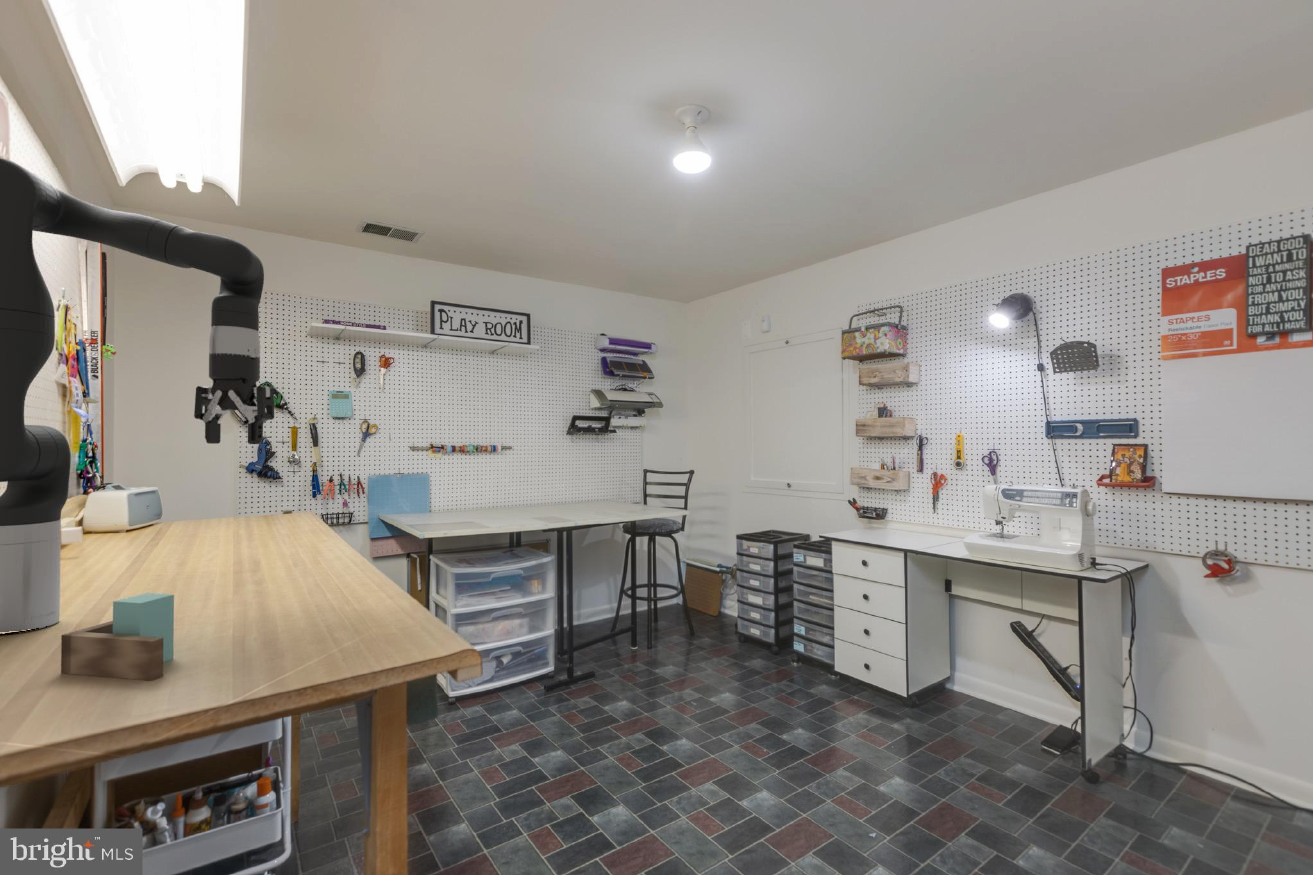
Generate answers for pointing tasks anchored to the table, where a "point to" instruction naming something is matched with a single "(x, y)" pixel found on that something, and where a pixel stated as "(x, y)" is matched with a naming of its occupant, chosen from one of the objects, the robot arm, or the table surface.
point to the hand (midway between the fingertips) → (233, 443)
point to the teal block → (146, 618)
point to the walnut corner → (111, 654)
